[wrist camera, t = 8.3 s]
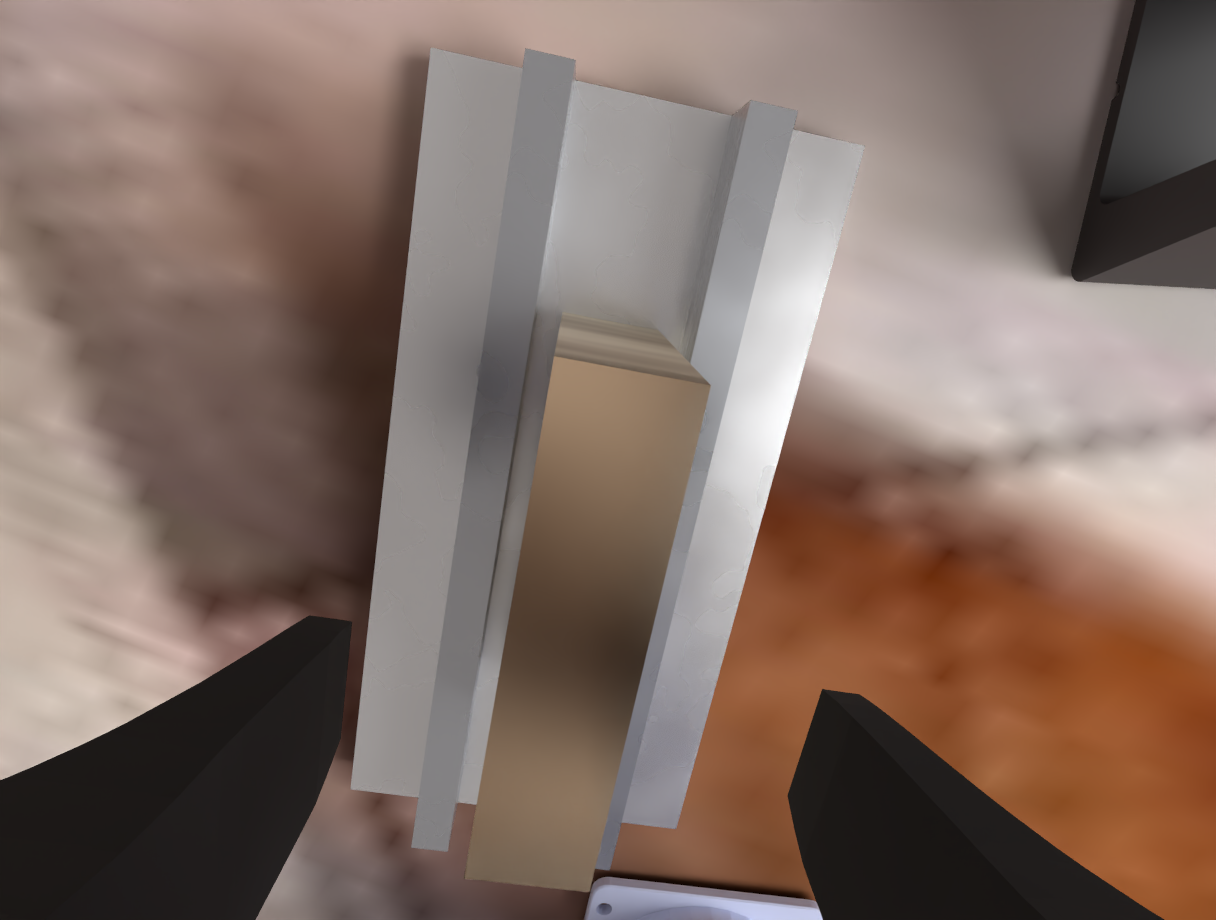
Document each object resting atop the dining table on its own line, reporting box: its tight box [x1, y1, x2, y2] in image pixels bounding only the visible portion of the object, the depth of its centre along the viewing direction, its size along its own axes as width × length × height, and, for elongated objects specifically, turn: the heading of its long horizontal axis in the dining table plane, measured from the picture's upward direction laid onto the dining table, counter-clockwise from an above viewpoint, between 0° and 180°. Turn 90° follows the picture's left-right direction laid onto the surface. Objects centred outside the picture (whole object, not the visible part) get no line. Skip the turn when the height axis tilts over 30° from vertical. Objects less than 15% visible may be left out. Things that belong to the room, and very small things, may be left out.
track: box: [351, 48, 865, 870], centre depth 18 cm, size 20×10×3 cm, turn 169°
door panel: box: [464, 312, 711, 892], centre depth 15 cm, size 10×2×7 cm, turn 169°
